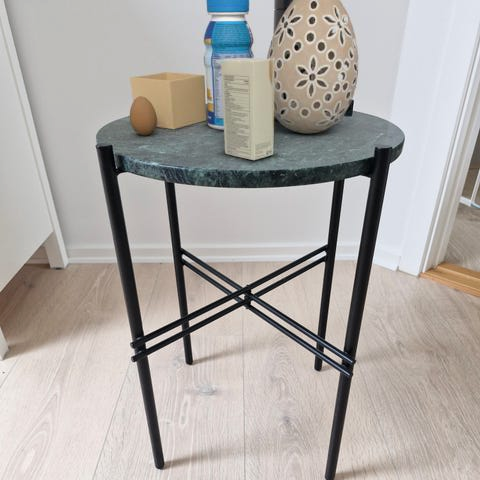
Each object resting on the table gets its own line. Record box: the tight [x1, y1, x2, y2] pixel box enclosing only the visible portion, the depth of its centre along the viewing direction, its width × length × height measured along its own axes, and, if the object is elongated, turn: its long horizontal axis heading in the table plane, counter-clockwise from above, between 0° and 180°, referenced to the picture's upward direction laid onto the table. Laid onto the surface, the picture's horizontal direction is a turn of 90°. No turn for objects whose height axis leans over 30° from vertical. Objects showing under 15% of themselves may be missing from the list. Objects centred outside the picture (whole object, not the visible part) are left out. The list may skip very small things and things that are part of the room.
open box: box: [129, 71, 207, 130], centre depth 83 cm, size 9×9×8 cm
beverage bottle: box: [203, 0, 255, 131], centre depth 76 cm, size 8×8×20 cm
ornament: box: [266, 0, 359, 135], centre depth 71 cm, size 15×15×20 cm
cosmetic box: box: [221, 57, 275, 161], centre depth 62 cm, size 6×4×12 cm
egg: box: [129, 96, 157, 137], centre depth 74 cm, size 4×4×6 cm
